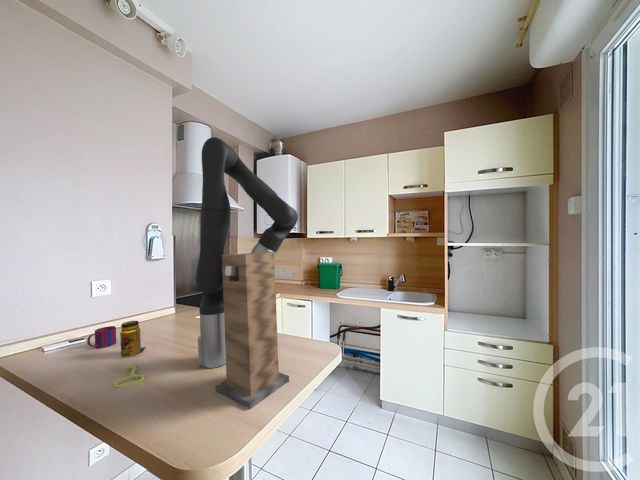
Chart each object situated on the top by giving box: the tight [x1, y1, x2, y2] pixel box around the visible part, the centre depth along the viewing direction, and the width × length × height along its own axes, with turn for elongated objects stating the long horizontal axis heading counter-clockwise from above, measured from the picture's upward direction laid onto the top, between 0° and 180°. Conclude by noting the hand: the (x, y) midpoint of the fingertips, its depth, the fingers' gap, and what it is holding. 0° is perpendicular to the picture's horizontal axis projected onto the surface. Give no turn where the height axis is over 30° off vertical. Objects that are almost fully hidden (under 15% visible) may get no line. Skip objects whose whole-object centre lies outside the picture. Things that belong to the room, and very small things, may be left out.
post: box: [215, 252, 290, 410], centre depth 70 cm, size 14×14×37 cm
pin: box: [225, 266, 294, 278], centre depth 74 cm, size 24×2×2 cm, turn 145°
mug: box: [86, 325, 117, 349], centre depth 103 cm, size 7×10×7 cm
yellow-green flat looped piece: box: [113, 362, 145, 389], centre depth 77 cm, size 7×12×2 cm, turn 45°
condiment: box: [117, 320, 147, 360], centre depth 95 cm, size 7×8×12 cm
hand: (235, 299), depth 83 cm, fingers open, 7 cm apart
